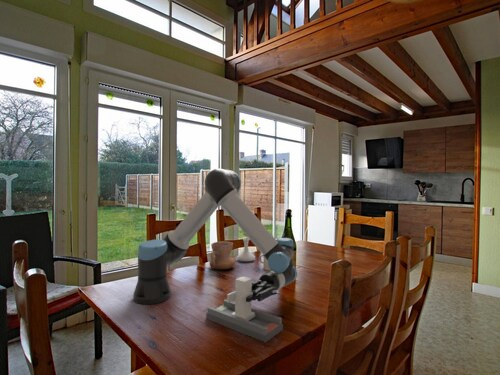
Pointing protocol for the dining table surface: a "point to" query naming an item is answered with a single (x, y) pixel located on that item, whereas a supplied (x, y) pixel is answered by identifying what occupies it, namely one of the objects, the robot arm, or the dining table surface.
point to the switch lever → (242, 288)
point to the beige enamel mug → (265, 263)
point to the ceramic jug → (222, 255)
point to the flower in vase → (246, 251)
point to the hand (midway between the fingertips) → (233, 300)
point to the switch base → (257, 327)
